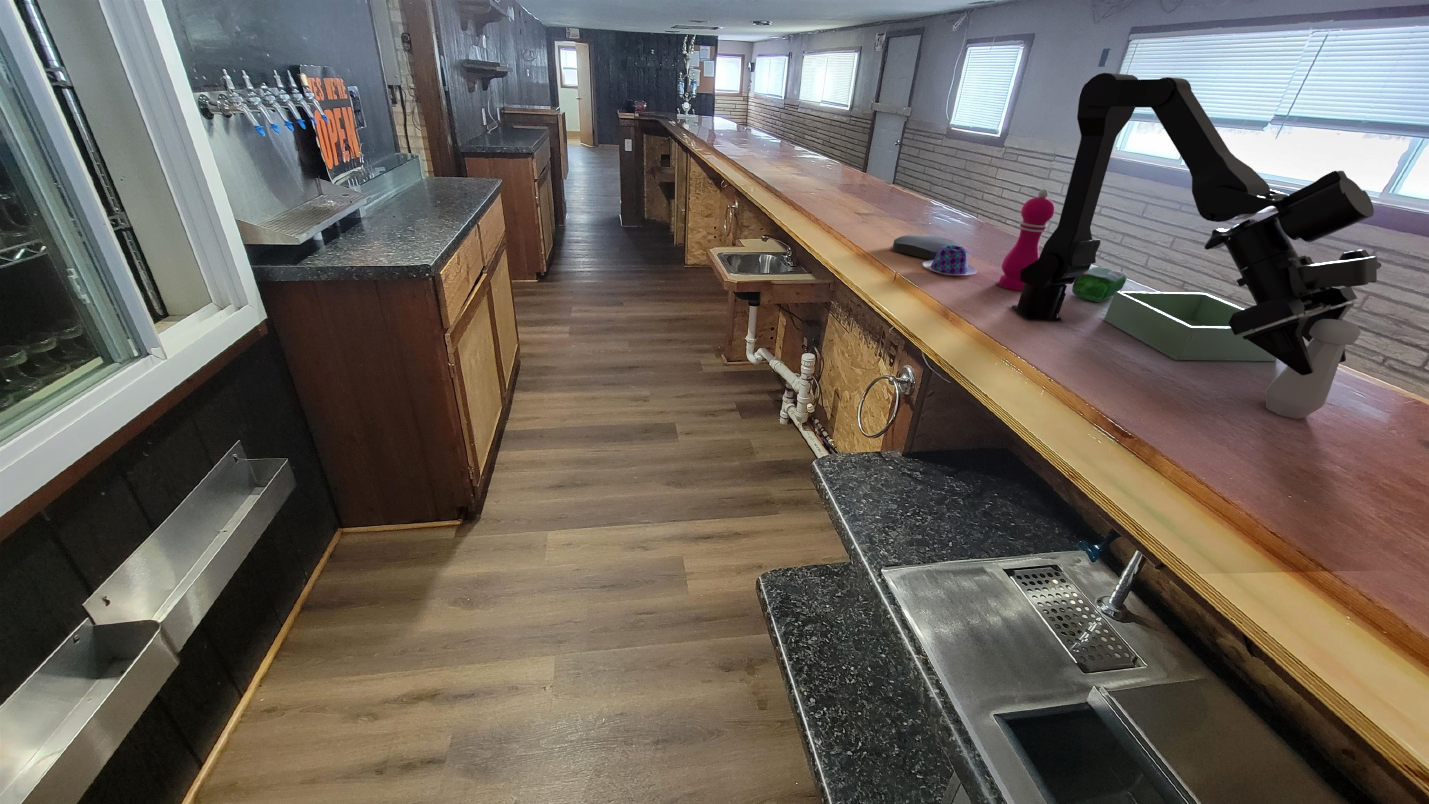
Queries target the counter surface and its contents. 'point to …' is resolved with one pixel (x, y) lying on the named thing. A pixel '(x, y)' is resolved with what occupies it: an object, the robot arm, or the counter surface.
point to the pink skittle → (1027, 240)
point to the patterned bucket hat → (950, 262)
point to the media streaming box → (922, 245)
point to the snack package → (1098, 284)
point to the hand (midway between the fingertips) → (1324, 368)
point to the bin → (1183, 325)
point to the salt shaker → (1311, 391)
